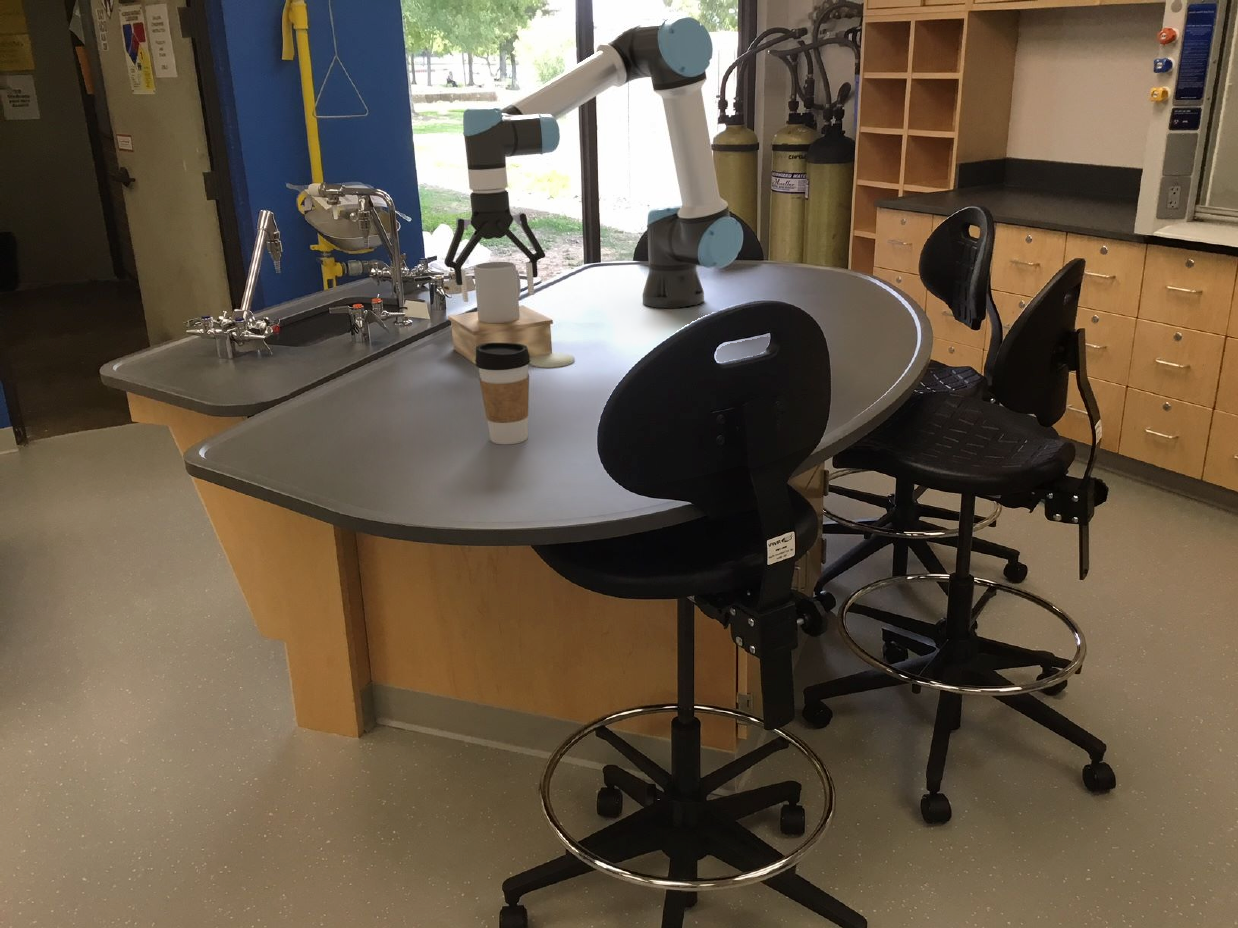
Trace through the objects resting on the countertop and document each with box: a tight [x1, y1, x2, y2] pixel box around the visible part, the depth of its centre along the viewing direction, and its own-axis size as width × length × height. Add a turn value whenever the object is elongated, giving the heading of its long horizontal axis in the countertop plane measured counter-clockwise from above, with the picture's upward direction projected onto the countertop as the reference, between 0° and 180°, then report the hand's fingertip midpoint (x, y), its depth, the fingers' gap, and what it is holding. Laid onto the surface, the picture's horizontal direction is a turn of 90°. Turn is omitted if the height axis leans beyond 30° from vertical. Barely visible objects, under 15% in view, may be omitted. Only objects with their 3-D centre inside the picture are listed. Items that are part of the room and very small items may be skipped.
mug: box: [473, 261, 522, 324], centre depth 207 cm, size 12×8×11 cm
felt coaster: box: [529, 352, 575, 369], centre depth 202 cm, size 9×9×1 cm
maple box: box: [447, 305, 554, 365], centre depth 210 cm, size 17×17×7 cm
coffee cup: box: [475, 343, 531, 446], centre depth 157 cm, size 8×8×15 cm
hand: (498, 297), depth 207 cm, fingers open, 13 cm apart
